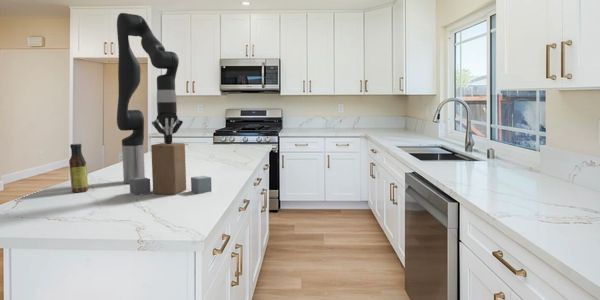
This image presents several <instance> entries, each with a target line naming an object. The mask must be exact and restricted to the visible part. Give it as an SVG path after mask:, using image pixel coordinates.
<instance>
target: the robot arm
mask: <svg viewBox="0 0 600 300" xmlns="http://www.w3.org/2000/svg"><path fill="white" fill-rule="evenodd" d="M116 33H117V43H118V44H117V47H118V63H117V65H118V68H117V76H118V79H117V80H118V95H117V96H118V100H117V111H116V124H117V125H116V126H117V127H118V129H119V131H125V132H126V131H132V133H131V134H130V135H129V136H125V137H124V138H123V139H121V145H122V146H121V147H122V148H121V151H122V154H121V155H122V170H123V171H122V173H123V183H125V184H130V179H133V178H141V177H145V178H146V173H145V172H146V171H145V153H144V152H145V148H144V138H145V119H144V118H145V117H144V114H143V112H142V111H141V110H139V109H130V110H129V103H130V100H131V98H132V96H133V95H134V94H135V92H136V91H137V89H138V87H139V85H140V83H141V71H142V70H141V65H140V63H139V61H138V59H137V58H136V56H135V54H134V52H133V51H132V49H131V45H130V41H129V40H130V39H129V36H130V37H140V38H141V40H140V45H141V47H142V49H143V51H144V52H145V53H147V55H148V56H149V60H150V63H151V65H152V67H154V68H156V69H159V70H161V69H163V70H166V72H165V74H160V75H158V76H157V77H156V109H157V110H156V111H157V115H156V119H155V120H154V121H152V122H151V124H152V126H153V127H154V128H155V130H157V132H158V133H159V134H161V135H163V141H164V142H163V143H166V144H171V143H173V135H174V134H176V133H178V131H179V129H180V128H181V126H182V125H183V122H184V121H183V120H181V119H179V117H178V113H177V112H178V111H177V94H176V76H177V72H178V67H179V61H180V60H179V56H178V54H177V53H176V52H175V51H167V50H166V49H165V46H164V45H163V44H162V43H161V42H160V41H159V40H158V38H156V36H155V35H154V33H153V31H152V29H151V28H150V26H149V24H148V23H147V21H146V19H145V18H144V17H143V16H141V15H139V14H132V13H127V12H126V13H125V12H120V13H119V14H118V15H117V19H116ZM160 125H161V126H160Z"/></svg>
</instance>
